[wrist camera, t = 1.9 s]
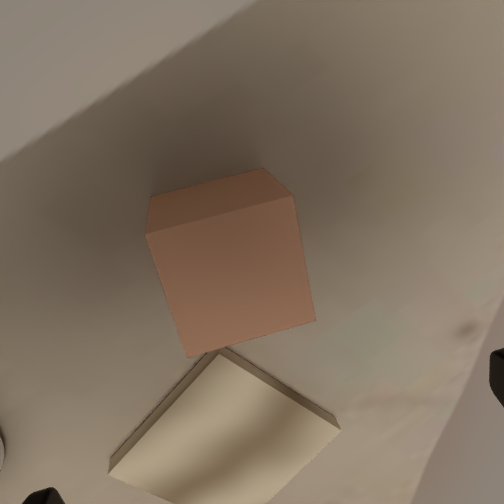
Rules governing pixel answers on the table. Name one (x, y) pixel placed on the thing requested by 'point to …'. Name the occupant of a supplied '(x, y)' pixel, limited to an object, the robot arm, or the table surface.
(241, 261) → the cube
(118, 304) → the table surface
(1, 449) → the can
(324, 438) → the coaster
